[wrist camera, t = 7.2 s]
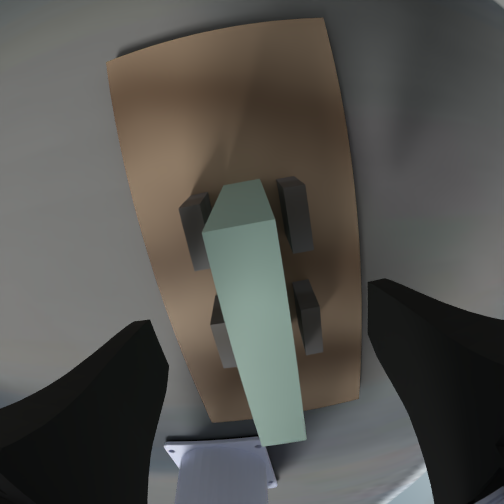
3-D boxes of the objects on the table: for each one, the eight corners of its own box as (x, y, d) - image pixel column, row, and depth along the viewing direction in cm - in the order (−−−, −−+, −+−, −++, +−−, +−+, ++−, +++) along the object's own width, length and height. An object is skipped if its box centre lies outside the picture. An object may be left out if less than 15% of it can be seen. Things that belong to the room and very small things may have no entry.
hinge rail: (355, 390, 19) (369, 426, 16) (212, 414, 19) (209, 452, 16) (319, 23, 11) (338, -5, 8) (112, 65, 12) (80, 50, 8)
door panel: (286, 331, 16) (306, 439, 9) (255, 337, 16) (262, 446, 9) (259, 178, 13) (275, 219, 7) (223, 185, 13) (201, 233, 7)
